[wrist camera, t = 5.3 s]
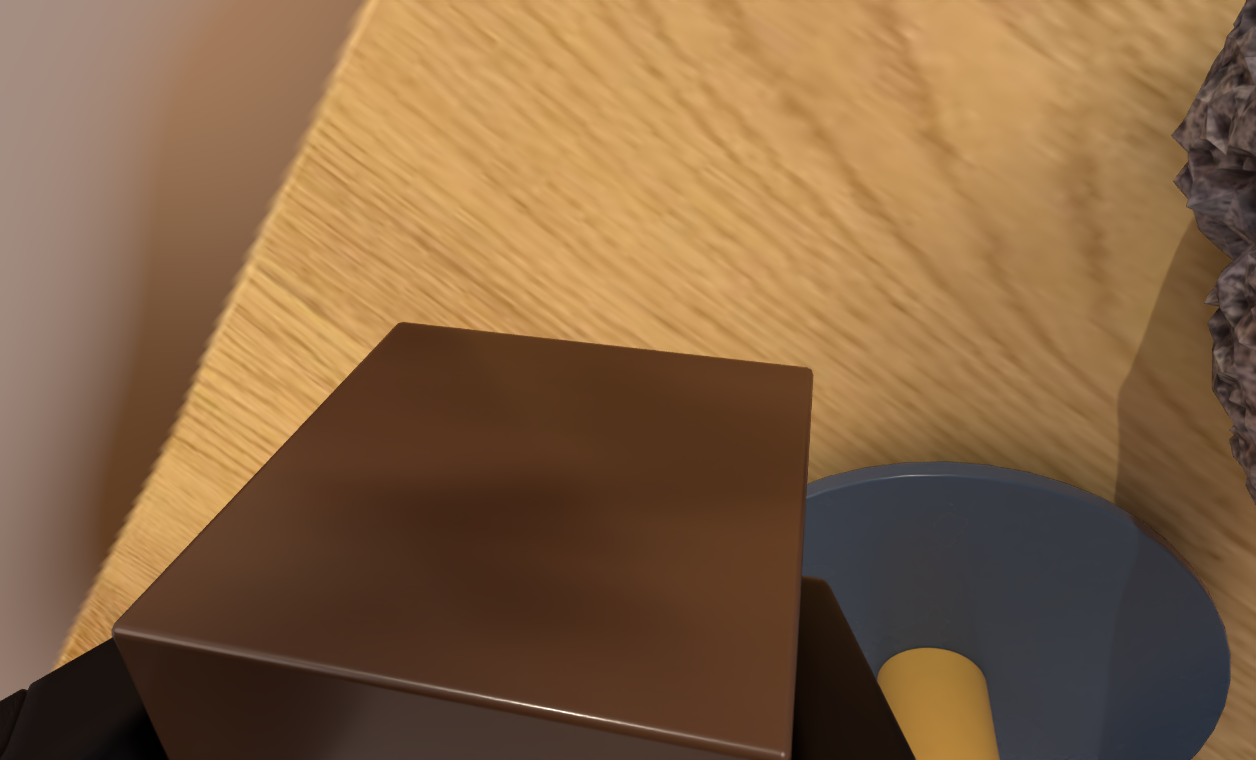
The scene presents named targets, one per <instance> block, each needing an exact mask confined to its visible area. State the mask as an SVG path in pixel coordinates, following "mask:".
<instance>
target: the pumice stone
mask: <svg viewBox="0 0 1256 760" xmlns="http://www.w3.org/2000/svg"><path fill="white" fill-rule="evenodd" d="M1233 25H1234V27H1235V28H1234V29H1233V30H1232V31H1231V32H1230V33H1229V35H1228V36H1227V38H1226V42H1225V46H1224V48H1223V49H1222V51H1221V52H1220V54H1219V55H1218V57H1217V58H1216V59H1215V61H1214V63H1213V65H1212V67H1211V69H1210V71H1209V73H1208V75H1207V77H1206V79H1205V81H1204V83H1203V85H1202V87H1201V89H1200V91H1199V93H1198V94H1197V96H1196V98H1195V100H1194V102H1193V104H1192V106H1191V107H1190V109H1189V111H1188V113H1187V115H1186V117H1185V119H1184V120H1183V122H1182V123H1181V125H1180V126H1179V127H1178V128H1177V129H1176V130H1175V132H1174V133H1173V134H1172V135H1171V136H1172V137H1173V138H1174V139H1175V140H1176V141H1177V142H1178V143H1179V144H1180V145H1181V146H1182V147H1183V148H1184V149H1185V150H1186V151H1187V152H1188V162H1187V164H1186V165H1185V166H1184V168H1183V169H1182V170H1181V171H1180V173H1179V174H1178V175H1177V177H1176V178H1175V179H1174V180H1173V182H1174V183H1175V184H1176V186H1177V187H1178V188H1179V189H1180V190H1181V191H1182V193H1183V194H1184V195H1185V196H1186V197H1187V198H1188V202H1187V206H1186V207H1188V208H1190V209H1193V211H1194V215H1195V218H1196V221H1197V225H1198V228H1199V230H1200V231H1201V232H1202V233H1203V234H1204V235H1205V236H1206V237H1207V238H1208V239H1209V240H1211V241H1212V242H1213V243H1214V244H1215V245H1216V246H1217V247H1218V248H1219V249H1220V250H1221V251H1222V252H1224V253H1225V254H1226V255H1227V256H1229V257H1230V258H1231V259H1232V260H1234V261H1233V262H1231V263H1230V264H1229V265H1228V266H1227V267H1226V268H1225V269H1224V270H1223V271H1222V273H1221V275H1220V276H1219V278H1218V280H1217V282H1216V284H1215V286H1214V289H1213V290H1212V291H1211V292H1210V293H1209V294H1208V297H1207V299H1206V301H1205V303H1204V304H1210V305H1215V306H1219V307H1220V308H1219V309H1218V310H1217V311H1216V313H1215V314H1214V315H1213V316H1212V318H1211V319H1210V320H1209V321H1208V323H1207V325H1208V327H1209V330H1210V332H1211V335H1212V337H1213V340H1214V344H1213V348H1212V390H1213V392H1214V393H1215V395H1216V397H1217V398H1218V400H1219V401H1220V403H1221V405H1222V406H1223V408H1224V410H1225V411H1226V413H1227V414H1228V415H1229V417H1230V419H1231V420H1232V422H1233V424H1234V427H1232V428H1231V429H1229V430H1230V431H1231V432H1232V433H1233V434H1234V436H1233V437H1232V438H1231V439H1230V440H1229V441H1230V445H1231V449H1232V453H1233V457H1234V458H1235V459H1236V460H1237V461H1238V463H1239V464H1240V465H1241V466H1242V467H1243V469H1244V471H1245V473H1246V475H1247V479H1246V487H1247V489H1248V491H1249V493H1250V495H1251V497H1252V499H1253V501H1254V503H1255V505H1256V0H1246V2H1245V5H1244V7H1243V8H1242V10H1241V12H1240V14H1239V15H1238V17H1237V19H1236V21H1235V23H1234V24H1233Z"/></svg>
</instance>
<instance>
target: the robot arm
mask: <svg viewBox="0 0 1256 760" xmlns="http://www.w3.org/2000/svg"><path fill="white" fill-rule="evenodd" d="M0 760H168V759H167V756H166V754H165V752H164V750H163V747H162V745H161V743H160V741H159V739H158V736H157V734H156V732H155V730H154V727H153V725H152V723H151V721H150V719H149V716H148V714H147V712H146V710H145V707H144V705H143V703H142V701H141V699H140V696H139V694H138V692H137V690H136V687H135V685H134V683H133V681H132V678H131V676H130V674H129V672H128V670H127V667H126V665H125V663H124V661H123V658H122V656H121V654H120V652H119V650H118V647H117V645H116V643H115V641H114V638H113V637H112V638H111V639H109V640H107V641H105V642H104V643H102V644H100V645H98V646H97V647H95V648H93V649H91V650H90V651H88V652H86V653H84V654H83V655H81V656H79V657H77V658H76V659H74V660H72V661H70V662H69V663H67V664H65V665H63V666H62V667H60V668H58V669H56V670H55V671H53V672H51V673H49V674H48V675H46V676H44V677H42V678H41V679H39V680H37V681H35V682H33V683H32V684H31V685H30V686H29V689H28V690H25V689H21V690H19V691H17V692H16V693H14V694H12V695H10V696H9V697H7V698H5V699H3V700H2V701H0ZM791 760H916V758H915V756H914V754H913V752H912V750H911V748H910V746H909V744H908V742H907V740H906V738H905V736H904V734H903V732H902V730H901V728H900V726H899V724H898V722H897V720H896V718H895V716H894V714H893V712H892V710H891V708H890V706H889V704H888V702H887V700H886V698H885V696H884V694H883V692H882V690H881V688H880V686H879V684H878V682H877V680H876V678H875V676H874V674H873V672H872V670H871V668H870V666H869V664H868V662H867V660H866V658H865V656H864V654H863V652H862V650H861V648H860V646H859V644H858V642H857V640H856V638H855V636H854V634H853V632H852V630H851V628H850V626H849V624H848V622H847V620H846V618H845V616H844V614H843V612H842V610H841V608H840V606H839V604H838V602H837V600H836V598H835V596H834V594H833V592H832V590H831V588H830V586H829V584H828V583H827V582H826V581H825V580H824V579H821V578H816V577H809V576H803V575H802V583H801V600H800V617H799V635H798V652H797V670H796V687H795V704H794V722H793V739H792V757H791Z"/></svg>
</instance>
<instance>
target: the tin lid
mask: <svg viewBox="0 0 1256 760" xmlns="http://www.w3.org/2000/svg"><path fill="white" fill-rule="evenodd" d="M802 575H803V576H809V577H816V578H821V579H824V580H825V581H826V582H827V583H828V584H829V586H830V588H831V590H832V592H833V594H834V596H835V598H836V600H837V602H838V604H839V606H840V608H841V610H842V612H843V614H844V616H845V618H846V620H847V622H848V624H849V626H850V628H851V630H852V632H853V634H854V636H855V638H856V640H857V642H858V644H859V646H860V648H861V650H862V652H863V654H864V656H865V658H866V660H867V662H868V664H869V666H870V668H871V670H872V672H873V674H874V676H875V678H876V680H877V682H878V684H879V686H880V688H881V690H882V692H883V694H884V696H885V698H886V700H887V702H888V704H889V706H890V708H891V710H892V712H893V714H894V716H895V718H896V720H897V722H898V724H899V726H900V728H901V730H902V732H903V734H904V736H905V738H906V740H907V742H908V744H909V746H910V748H911V750H912V752H913V754H914V756H915V758H916V760H1191V759H1192V758H1193V757H1194V756H1195V755H1196V754H1197V753H1198V752H1199V750H1200V749H1201V748H1202V746H1203V745H1204V743H1205V742H1206V740H1207V739H1208V738H1209V736H1210V735H1211V733H1212V732H1213V731H1214V729H1215V726H1216V724H1217V722H1218V720H1219V718H1220V715H1221V713H1222V711H1223V709H1224V707H1225V702H1226V698H1227V693H1228V689H1229V685H1230V657H1231V654H1230V649H1229V645H1228V640H1227V635H1226V631H1225V627H1224V625H1223V622H1222V620H1221V618H1220V616H1219V614H1218V611H1217V609H1216V607H1215V605H1214V602H1213V600H1212V598H1211V596H1210V594H1209V592H1208V590H1207V588H1206V587H1205V585H1204V584H1203V582H1202V581H1201V579H1200V578H1199V577H1198V575H1197V574H1196V572H1195V571H1194V569H1193V568H1192V566H1191V565H1190V564H1189V562H1188V561H1187V560H1186V559H1185V558H1184V557H1183V556H1182V555H1181V554H1180V553H1179V552H1178V551H1177V550H1176V549H1175V548H1174V547H1173V546H1172V545H1171V544H1170V543H1169V542H1168V541H1167V540H1166V539H1165V538H1164V537H1162V536H1161V535H1160V534H1158V533H1157V532H1156V531H1154V530H1153V529H1152V528H1150V527H1149V526H1148V525H1146V524H1145V523H1144V522H1142V521H1141V520H1140V519H1138V518H1137V517H1135V516H1134V515H1132V514H1130V513H1128V512H1127V511H1125V510H1123V509H1121V508H1119V507H1118V506H1116V505H1114V504H1112V503H1111V502H1109V501H1107V500H1105V499H1103V498H1101V497H1099V496H1096V495H1094V494H1092V493H1089V492H1087V491H1084V490H1082V489H1079V488H1077V487H1075V486H1072V485H1070V484H1067V483H1064V482H1061V481H1057V480H1054V479H1050V478H1047V477H1043V476H1040V475H1037V474H1033V473H1030V472H1025V471H1020V470H1014V469H1009V468H1003V467H997V466H992V465H985V464H972V463H959V462H906V463H897V464H889V465H881V466H873V467H865V468H861V469H857V470H853V471H848V472H844V473H840V474H836V475H831V476H828V477H825V478H822V479H819V480H816V481H814V482H811V483H808V484H807V496H806V513H805V530H804V548H803V565H802Z"/></svg>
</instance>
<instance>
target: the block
mask: <svg viewBox="0 0 1256 760" xmlns="http://www.w3.org/2000/svg"><path fill="white" fill-rule="evenodd" d="M812 391H813V372H812V370H811V369H809V368H807V367H798V366H789V365H780V364H772V363H763V362H754V361H745V360H736V359H727V358H718V357H709V356H701V355H692V354H683V353H674V352H665V351H656V350H647V349H638V348H630V347H621V346H612V345H603V344H594V343H585V342H576V341H567V340H559V339H550V338H541V337H532V336H523V335H514V334H505V333H496V332H488V331H479V330H470V329H461V328H452V327H443V326H434V325H425V324H417V323H408V322H402V323H398V324H397V325H396V326H395V327H394V328H393V329H392V330H391V331H390V332H389V333H388V334H387V335H386V336H385V338H384V339H383V340H382V341H381V342H380V343H379V344H378V345H377V346H376V347H375V348H374V349H373V350H372V351H371V352H370V353H369V354H368V356H367V357H366V358H365V359H364V360H363V361H362V362H361V363H360V364H359V365H358V366H357V367H356V368H355V369H354V370H353V371H352V372H351V374H350V375H349V376H348V377H347V378H346V379H345V380H344V381H343V382H342V383H341V384H340V385H339V386H338V387H337V388H336V389H335V390H334V392H333V393H332V394H331V395H330V396H329V397H328V398H327V399H326V400H325V401H324V402H323V403H322V404H321V405H320V406H319V407H318V408H317V410H316V411H315V412H314V413H313V414H312V415H311V416H310V417H309V418H308V419H307V420H306V421H305V422H304V423H303V424H302V425H301V426H300V428H299V429H298V430H297V431H296V432H295V433H294V434H293V435H292V436H291V437H290V438H289V439H288V440H287V441H286V442H285V443H284V444H283V446H282V447H281V448H280V449H279V450H278V451H277V452H276V453H275V454H274V455H273V456H272V457H271V458H270V459H269V460H268V461H267V462H266V464H265V465H264V466H263V467H262V468H261V469H260V470H259V471H258V472H257V473H256V474H255V475H254V476H253V477H252V478H251V479H250V481H249V482H248V483H247V484H246V485H245V486H244V487H243V488H242V489H241V490H240V491H239V492H238V493H237V494H236V495H235V496H234V497H233V499H232V500H231V501H230V502H229V503H228V504H227V505H226V506H225V507H224V508H223V509H222V510H221V511H220V512H219V513H218V514H217V515H216V517H215V518H214V519H213V520H212V521H211V522H210V523H209V524H208V525H207V526H206V527H205V528H204V529H203V530H202V531H201V532H200V533H199V535H198V536H197V537H196V538H195V539H194V540H193V541H192V542H191V543H190V544H189V545H188V546H187V547H186V548H185V549H184V550H183V551H182V553H181V554H180V555H179V556H178V557H177V558H176V559H175V560H174V561H173V562H172V563H171V564H170V565H169V566H168V567H167V568H166V569H165V571H164V572H163V573H162V574H161V575H160V576H159V577H158V578H157V579H156V580H155V581H154V582H153V583H152V584H151V585H150V586H149V587H148V589H147V590H146V591H145V592H144V593H143V594H142V595H141V596H140V597H139V598H138V599H137V600H136V601H135V602H134V603H133V604H132V605H131V607H130V608H129V609H128V610H127V611H126V612H125V613H124V614H123V615H122V616H121V617H120V618H119V619H118V620H117V621H116V622H115V624H114V626H113V628H112V636H113V638H114V641H115V643H116V645H117V647H118V650H119V652H120V654H121V656H122V658H123V661H124V663H125V665H126V667H127V670H128V672H129V674H130V676H131V678H132V681H133V683H134V685H135V687H136V690H137V692H138V694H139V696H140V699H141V701H142V703H143V705H144V707H145V710H146V712H147V714H148V716H149V719H150V721H151V723H152V725H153V727H154V730H155V732H156V734H157V736H158V739H159V741H160V743H161V745H162V747H163V750H164V752H165V754H166V756H167V759H168V760H791V757H792V739H793V722H794V704H795V687H796V670H797V652H798V635H799V617H800V600H801V583H802V565H803V548H804V530H805V513H806V496H807V478H808V461H809V443H810V426H811V409H812Z"/></svg>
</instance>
